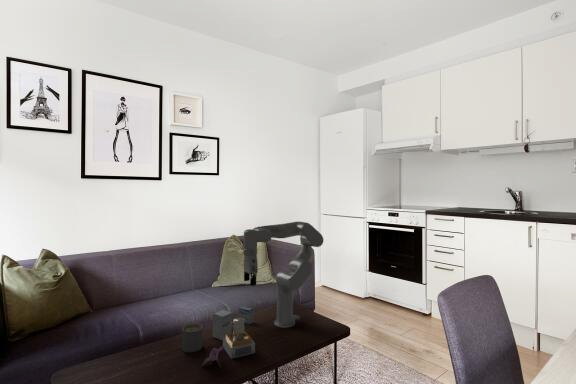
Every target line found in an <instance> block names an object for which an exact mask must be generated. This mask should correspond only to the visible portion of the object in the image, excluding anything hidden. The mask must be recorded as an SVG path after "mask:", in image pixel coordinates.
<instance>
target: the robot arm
mask: <svg viewBox="0 0 576 384" xmlns="http://www.w3.org/2000/svg"><path fill="white" fill-rule="evenodd" d="M297 236H299V237H300V238H299V239H300V240H299V243H300V248H299V250H298V251H297V252H296V254H295V255H294V256H293V257H292V259H291V260H290V261H289V263H288V267H287V268H288V270H285V269H283V270H280V271H278V272H277V273H276V275H275V285H276V319H275V320H274V321H273V324H274V326H275V327H278V328H283V329H287V328H291V327H294V326H295V325H296V321H295V320H300V319H301V317H300V315H299V314H298V315H297V314H294V310H293V308H294V307H293V306H294V293H293V292H294V291H295V292H296V291H298V290H300V288H301V287H302V286H303V285H304V283H305V282H306V281H307V280H308V278H309V277H310V276H311V274H312V271H313V263H312V262H311V261H310V260H311V258H312V256H313V255H312V254H313V249H312V248H319V247H322V246H323V244H324V237H323V235H322V233H320V231H319V230H317V229H316V228H315V227H314V226H313V225H312V224H310V223H309V222H307V221H306V222H305V221H293V222H285V223H279V224H271V225H261V226H257V227H254V228H252V229H251V228H250V229H245V230H244V231H243V250H242V251H243V253H242V255H243V281H244V282H249V281H250V282H249V283H250V284H249V286H250V287H254V286H257V276H258V273H259V271H258V270H259V268H258V243H269V242H270V241H271V240H272V239H287V238H292V237H297Z"/></svg>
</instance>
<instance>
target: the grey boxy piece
mask: <svg viewBox="0 0 576 384" xmlns="http://www.w3.org/2000/svg"><path fill="white" fill-rule="evenodd" d="M222 345H223V347H222V348H223V350H225V352H226V353H227V355H228V356H229V358H230V359H231V360H232V359H236V358H240V357H245V356H249V355H253V354H255V353H256V343H255V341H254V340H253V339H252V337H251V336H250V335H249V334H248V332H247V331H245V330H244V339H243V340H238V341H233V332H232V333H231V334H226V336H223V340H222Z"/></svg>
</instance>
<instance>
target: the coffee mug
mask: <svg viewBox="0 0 576 384" xmlns="http://www.w3.org/2000/svg"><path fill="white" fill-rule="evenodd" d="M203 328H204V327H203V325H202V324H200V323H188V324H186V325H184V326H183V327H182V328H181V350H182V351H183V352H184V353H194V352H198V351H200V350H201V349H202V348H203V337H204V336H203V332H204V331H203V330H204V329H203Z"/></svg>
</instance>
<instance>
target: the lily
mask: <svg viewBox="0 0 576 384" xmlns="http://www.w3.org/2000/svg"><path fill="white" fill-rule="evenodd" d="M222 350H224V347H223V344H222V345H221V346H220V347H218V348H217V347H213V348H212V350H210V353H209V356H208V357H207V358H205V359H204V361H203V364H201V367H204V366H205V364H207V362H209V361H212V362H213V361H217V363H218V366H219V368H221V369H222V366H221V364H220V362H219V360H218V358H219V353H220V351H222Z"/></svg>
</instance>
